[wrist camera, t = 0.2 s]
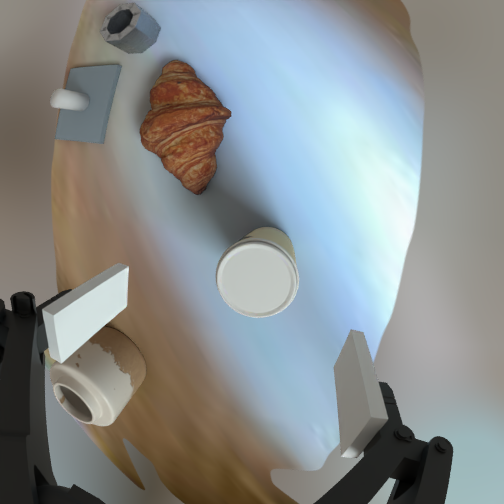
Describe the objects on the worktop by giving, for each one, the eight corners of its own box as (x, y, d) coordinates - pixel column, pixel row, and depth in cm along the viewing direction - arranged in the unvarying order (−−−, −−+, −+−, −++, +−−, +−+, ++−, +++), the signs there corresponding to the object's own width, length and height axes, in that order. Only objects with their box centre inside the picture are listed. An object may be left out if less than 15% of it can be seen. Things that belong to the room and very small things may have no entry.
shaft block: (74, 69, 40) (46, 61, 32) (121, 66, 39) (93, 53, 31) (58, 139, 44) (28, 138, 36) (103, 143, 43) (71, 142, 35)
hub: (130, 20, 36) (109, 6, 29) (164, 18, 35) (145, 1, 29) (119, 53, 38) (95, 42, 31) (152, 52, 37) (130, 38, 31)
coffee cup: (246, 211, 42) (226, 228, 31) (308, 233, 42) (311, 258, 30) (228, 269, 45) (205, 303, 34) (286, 290, 45) (281, 330, 33)
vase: (152, 347, 52) (108, 402, 36) (143, 394, 57) (108, 445, 41) (89, 313, 53) (37, 354, 37) (88, 363, 58) (47, 405, 42)
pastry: (124, 138, 42) (95, 135, 35) (176, 59, 38) (154, 42, 30) (202, 196, 43) (181, 202, 35) (263, 111, 38) (255, 98, 31)
